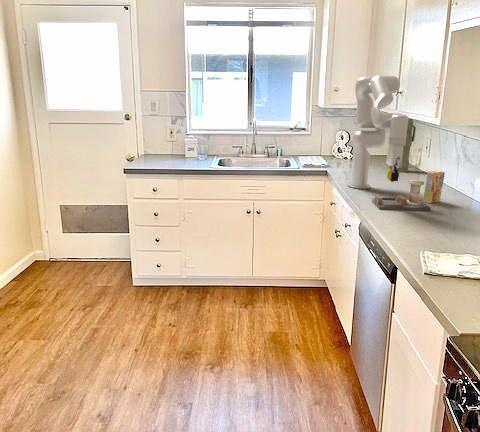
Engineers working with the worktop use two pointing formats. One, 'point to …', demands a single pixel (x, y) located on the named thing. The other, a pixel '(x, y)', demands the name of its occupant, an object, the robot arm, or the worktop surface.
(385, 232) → the worktop surface
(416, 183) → the bobbin
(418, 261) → the worktop surface
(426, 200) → the candy box
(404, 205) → the board
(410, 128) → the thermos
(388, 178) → the lemon
